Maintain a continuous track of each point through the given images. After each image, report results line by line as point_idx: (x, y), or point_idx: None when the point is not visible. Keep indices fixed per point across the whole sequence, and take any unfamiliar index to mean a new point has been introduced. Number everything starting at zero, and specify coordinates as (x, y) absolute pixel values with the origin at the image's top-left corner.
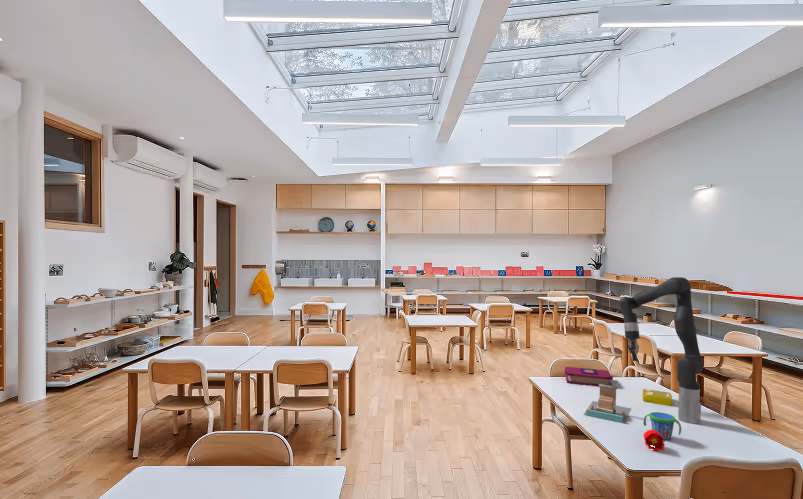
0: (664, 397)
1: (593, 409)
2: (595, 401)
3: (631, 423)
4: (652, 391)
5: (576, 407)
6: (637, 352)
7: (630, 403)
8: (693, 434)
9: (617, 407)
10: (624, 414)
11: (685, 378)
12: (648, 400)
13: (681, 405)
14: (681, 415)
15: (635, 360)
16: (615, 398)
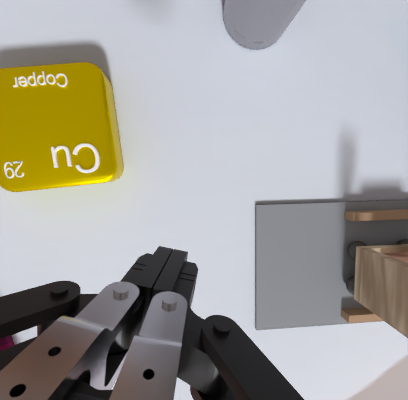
0: (91, 94)
1: (349, 306)
2: (257, 321)
3: (402, 184)
4: (21, 149)
5: (349, 353)
6: (74, 292)
7: (184, 216)
8: (395, 4)
9: (277, 246)
10: (375, 211)
11: None
12: (120, 159)
13: (303, 3)
14: (285, 28)
15: (185, 261)
16: (393, 258)
